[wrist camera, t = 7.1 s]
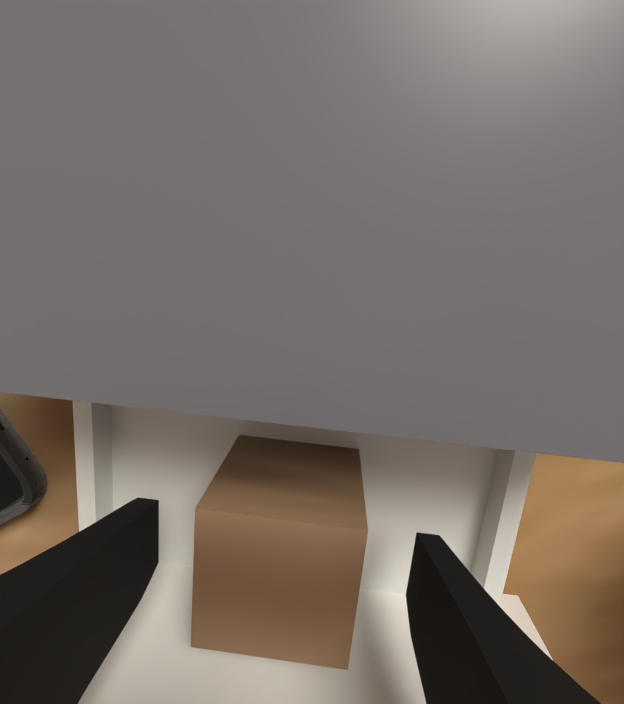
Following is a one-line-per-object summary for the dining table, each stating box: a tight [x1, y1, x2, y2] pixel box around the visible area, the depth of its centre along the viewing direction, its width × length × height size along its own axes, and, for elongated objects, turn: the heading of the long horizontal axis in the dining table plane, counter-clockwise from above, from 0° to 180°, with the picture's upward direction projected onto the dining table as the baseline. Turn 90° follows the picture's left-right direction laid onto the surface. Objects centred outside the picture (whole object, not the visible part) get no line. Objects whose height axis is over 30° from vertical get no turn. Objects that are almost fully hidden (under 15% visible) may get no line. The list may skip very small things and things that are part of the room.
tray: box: [73, 401, 553, 704], centre depth 10 cm, size 16×17×5 cm
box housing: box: [0, 0, 624, 463], centre depth 8 cm, size 16×17×7 cm
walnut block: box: [191, 435, 368, 670], centre depth 11 cm, size 4×4×4 cm
